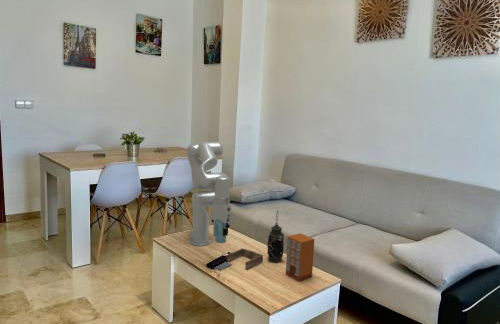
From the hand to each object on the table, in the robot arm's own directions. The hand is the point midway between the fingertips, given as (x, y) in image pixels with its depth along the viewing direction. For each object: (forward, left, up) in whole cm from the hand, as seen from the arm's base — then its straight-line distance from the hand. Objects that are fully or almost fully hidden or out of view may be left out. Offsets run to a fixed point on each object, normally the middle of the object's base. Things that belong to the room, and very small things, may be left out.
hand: (220, 233), depth 199 cm
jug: (0, -1, -4) cm, 4 cm away
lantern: (+17, +26, -18) cm, 35 cm away
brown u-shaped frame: (+7, +12, -17) cm, 22 cm away
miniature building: (+37, +18, -18) cm, 45 cm away
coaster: (0, 0, -17) cm, 17 cm away
